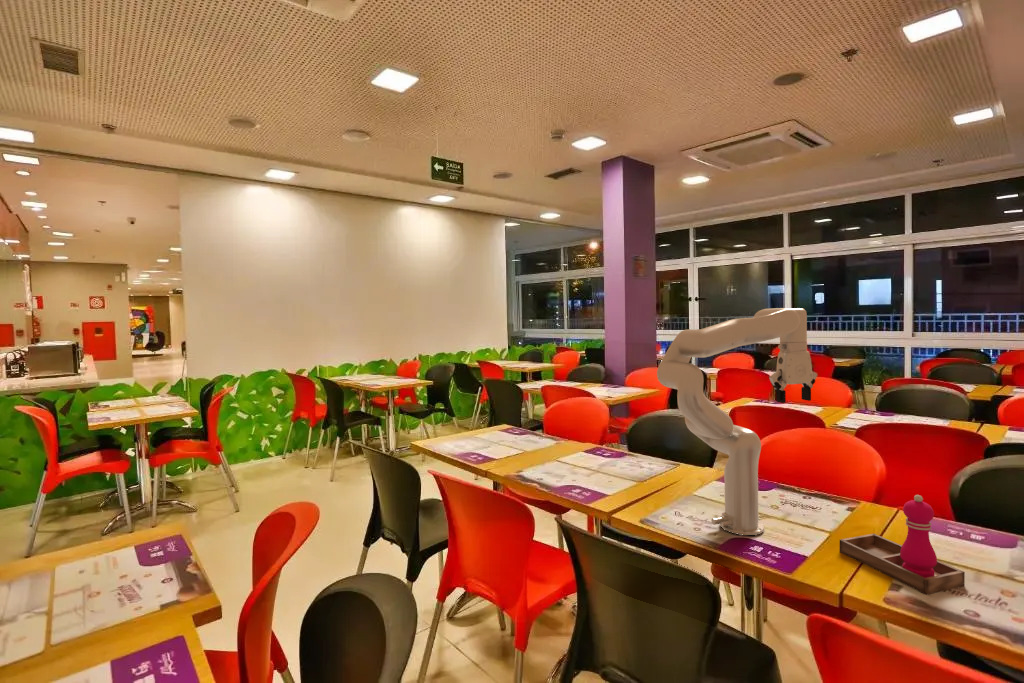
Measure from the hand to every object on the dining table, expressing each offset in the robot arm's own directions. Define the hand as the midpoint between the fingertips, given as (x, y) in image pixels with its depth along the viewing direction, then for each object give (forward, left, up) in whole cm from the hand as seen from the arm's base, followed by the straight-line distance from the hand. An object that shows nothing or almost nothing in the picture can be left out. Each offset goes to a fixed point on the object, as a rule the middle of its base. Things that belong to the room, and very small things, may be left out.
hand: (793, 401), depth 166 cm
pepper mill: (0, -39, -38) cm, 54 cm away
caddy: (0, -34, -38) cm, 51 cm away
